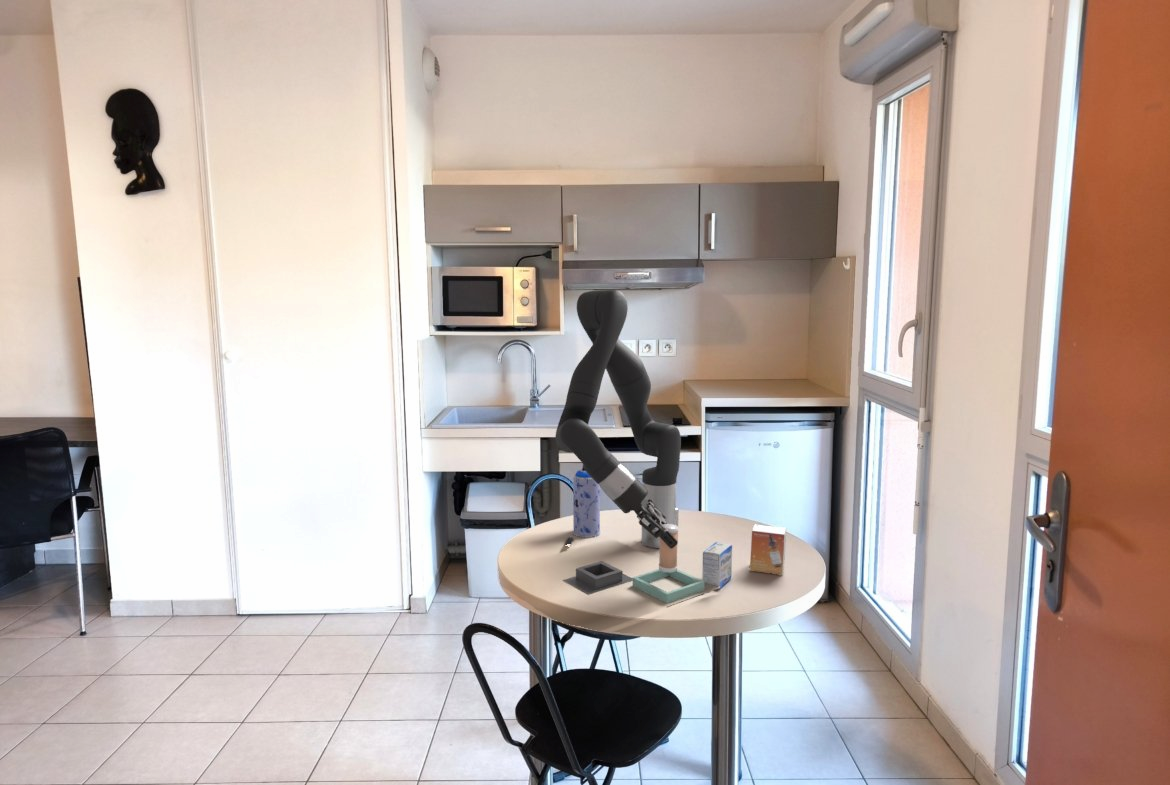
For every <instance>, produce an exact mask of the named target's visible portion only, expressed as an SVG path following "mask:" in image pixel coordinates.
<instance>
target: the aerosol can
mask: <svg viewBox="0 0 1170 785" xmlns="http://www.w3.org/2000/svg"><path fill="white" fill-rule="evenodd" d="M572 480H573V491H572V492H573V498H572V499H573V503H572V504H573V505H572V506H573V516H572V517H573V519H572V520H573V525H572V526H573V530H572V535H573V534H574V536H575V535H576V537H577V536H580V537H579V538H581V537H585V538H584V539H587V538H586V537H592V538H595V536H596V537H598V536H600V535H601V530H600V529H601V518H600V517H601V487H600V486H599V485H598V484H597V483H596V482H595V481H594V480H593V479H592V478H591V476H590V475H589V474H588V473H587V472H586V471H585V469H584V467H583V465H582V468H580V469H579V470H577V471H576V472H575V473H574V474H573V479H572Z"/></svg>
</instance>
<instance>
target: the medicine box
mask: <svg viewBox="0 0 1170 785" xmlns="http://www.w3.org/2000/svg"><path fill="white" fill-rule="evenodd" d="M732 561H733V545H732V544H730V543H726V542H718V541H715V542H714V543H712V544H711V545H709V547H708V548H706V549H705V550H704V551H702V570H701V571H702V575H701V577H702V579H701V580H702V581H704V584H707V585H711V586H716V587H718V588H717V590H718V591H719V590H721V589H722V588H723V587H724V586H725V585H726V584H727V583H728V582H729V581H730V580H731V579H732V567H733V566H732V565H733V564H732V563H733V562H732Z"/></svg>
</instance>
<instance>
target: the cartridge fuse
mask: <svg viewBox="0 0 1170 785" xmlns="http://www.w3.org/2000/svg"><path fill="white" fill-rule="evenodd" d="M663 526H664V527H665V528H666V529H667V531H668V532H669V533H670V534H671V535H672V536H673V537H674V538H675V539H676V540H677V541H678V542H679V525H678V526H677V525H673V524H663ZM658 558H659V560H658V561H659V563H658V569H659V570H660V571H662V572H667V573H672V572H676V571H677V570H678V544H677V545H676V546H675V547H674V548H672V549H671V548H670V547H669V546H668V545H667V544H666V543H665V542H664V541H663V540H662V539H661V538H660V548H659V556H658Z"/></svg>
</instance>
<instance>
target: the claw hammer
mask: <svg viewBox="0 0 1170 785" xmlns="http://www.w3.org/2000/svg"><path fill="white" fill-rule="evenodd" d="M573 542H574V538H573V537H570V536H568V537H567V538H566V540H565V543H564V545H563V546H562V548H561V549H560V551H559V553H565V552H567V551H568V550H569V548H570V547H568V546H565V545H567V544H571V545H572V543H573ZM567 549H568V550H567Z"/></svg>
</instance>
